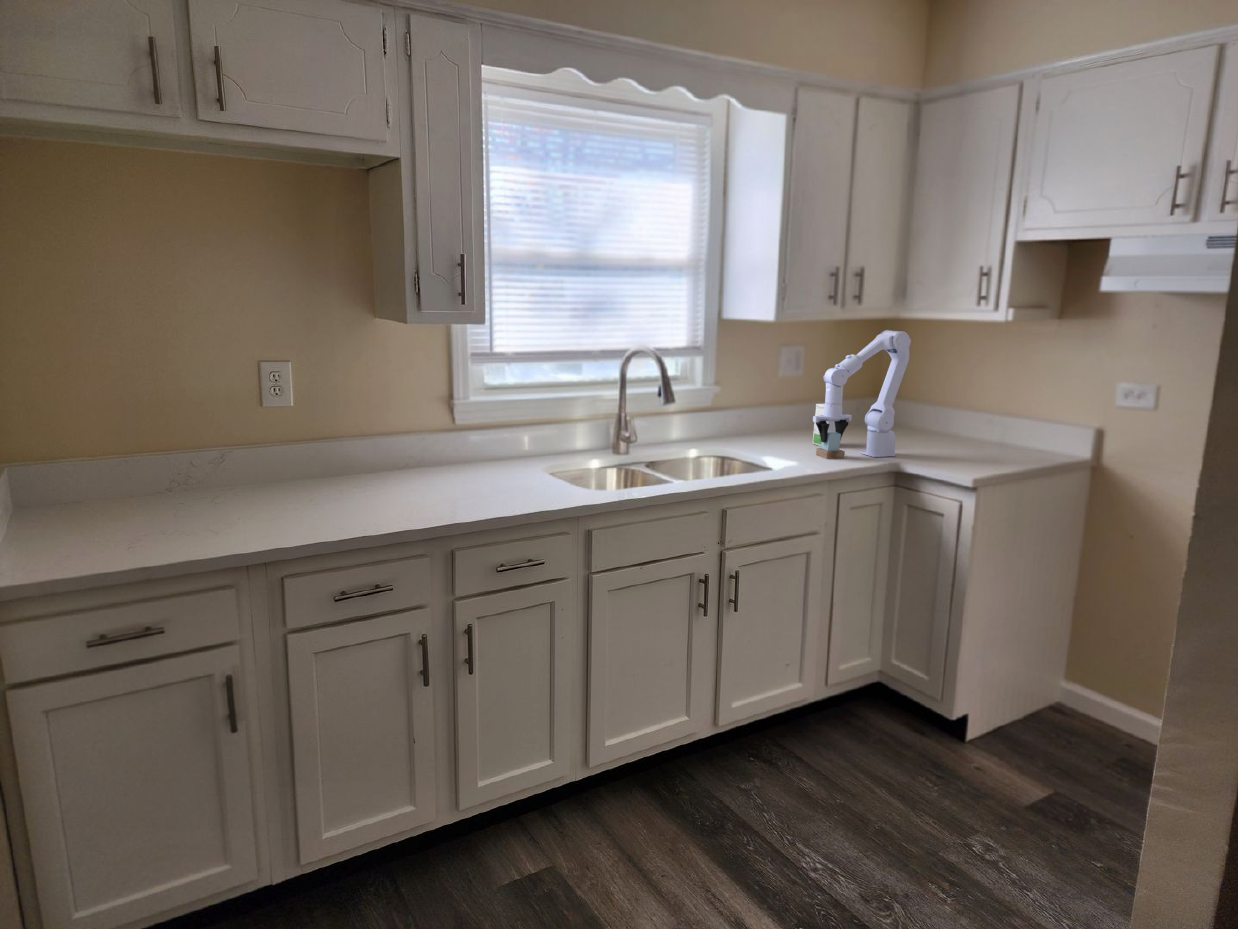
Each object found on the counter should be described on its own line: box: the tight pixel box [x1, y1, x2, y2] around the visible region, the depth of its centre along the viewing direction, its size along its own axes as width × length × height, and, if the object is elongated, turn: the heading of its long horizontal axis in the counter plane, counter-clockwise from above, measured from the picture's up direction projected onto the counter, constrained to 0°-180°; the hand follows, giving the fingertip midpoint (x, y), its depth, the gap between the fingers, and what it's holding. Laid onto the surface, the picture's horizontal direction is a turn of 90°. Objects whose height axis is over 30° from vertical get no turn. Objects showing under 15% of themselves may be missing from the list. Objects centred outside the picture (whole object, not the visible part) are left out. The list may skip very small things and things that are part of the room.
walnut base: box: [815, 447, 846, 460], centre depth 287 cm, size 7×7×3 cm
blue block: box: [820, 431, 842, 451], centre depth 285 cm, size 4×4×6 cm
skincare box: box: [812, 403, 844, 447], centre depth 306 cm, size 8×7×16 cm
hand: (830, 441), depth 285 cm, fingers open, 5 cm apart
